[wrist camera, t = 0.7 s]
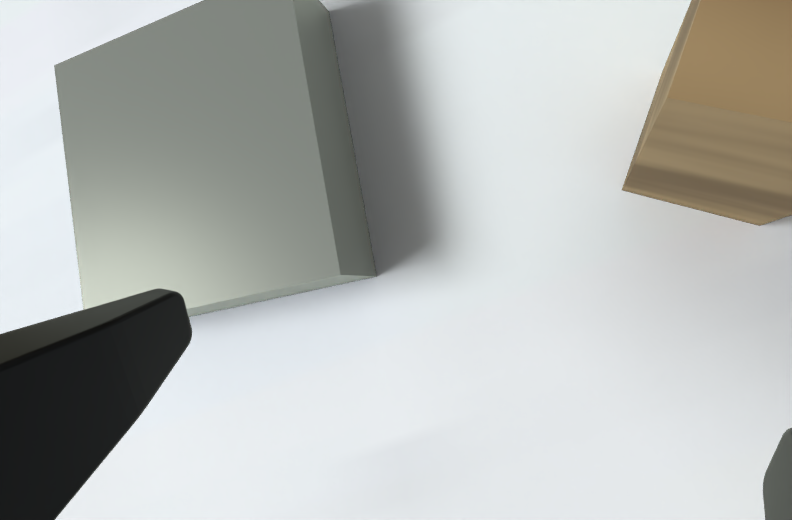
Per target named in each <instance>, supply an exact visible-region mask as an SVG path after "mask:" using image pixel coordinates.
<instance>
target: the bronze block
mask: <svg viewBox="0 0 792 520" xmlns="http://www.w3.org/2000/svg"><path fill="white" fill-rule="evenodd" d="M622 190H623V191H627V192H631V193H635V194H639V195H643V196H646V197H650V198H654V199H658V200H662V201H666V202H670V203H674V204H678V205H681V206H685V207H689V208H693V209H697V210H701V211H705V212H709V213H712V214H716V215H720V216H724V217H728V218H732V219H736V220H740V221H743V222H747V223H751V224H755V225H759V226H760V225H763V224H766V223H769V222H772V221H775V220H778V219H781V218H784V217H787V216H790V215H792V0H692V1H691V3H690V6H689V8H688V10H687V13H686V15H685V18H684V20H683V23H682V25H681V27H680V30H679V32H678V35H677V37H676V40H675V42H674V45H673V47H672V49H671V52H670V54H669V57H668V59H667V62H666V64H665V67H664V69H663V72H662V75H661V77H660V80H659V83H658V86H657V89H656V92H655V95H654V98H653V101H652V104H651V107H650V109H649V112H648V115H647V118H646V121H645V124H644V127H643V130H642V133H641V136H640V138H639V141H638V144H637V147H636V150H635V153H634V156H633V159H632V162H631V165H630V168H629V170H628V173H627V176H626V179H625V182H624V185H623V188H622Z"/></svg>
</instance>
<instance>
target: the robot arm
mask: <svg viewBox="0 0 792 520" xmlns="http://www.w3.org/2000/svg"><path fill="white" fill-rule="evenodd" d="M191 337H192V328H191V324H190V320H189V316H188V312H187V309H186V305H185V301H184V298H183V297H182V295H181V294H180V293H178V292H176V291H171V290H167V289H161V288H158V289H153V290H150V291H146V292H143V293H139V294H136V295H132V296H129V297H126V298H122V299H119V300H115V301H112V302H109V303H105V304H102V305H98V306H95V307H92V308H88V309H85V310H81V311H78V312H74V313H71V314H68V315H64V316H61V317H57V318H54V319H51V320H47V321H44V322H40V323H37V324H33V325H30V326H27V327H23V328H20V329H16V330H13V331H10V332H6V333H3V334H0V520H55V519H56V518H57V516H58V515H59V514H60V513H61V512H62V510H63V509H64V508H65V507H66V505H67V504H68V503H69V502H70V501H71V499H72V498H73V497H74V496H75V495H76V493H77V492H78V491H79V490H80V488H81V487H82V486H83V485H84V484H85V482H86V481H87V480H88V479H89V477H90V476H91V475H92V474H93V473H94V471H95V470H96V469H97V468H98V467H99V465H100V464H101V463H102V462H103V460H104V459H105V458H106V457H107V456H108V454H109V453H110V452H111V451H112V450H113V448H114V447H115V446H116V445H117V443H118V442H119V441H120V440H121V439H122V437H123V436H124V435H125V434H126V433H127V431H128V430H129V429H130V428H131V426H132V425H133V424H134V423H135V421H136V420H137V419H138V418H139V416H140V415H141V414H142V412H143V411H144V409H145V408H146V407H147V405H148V404H149V402H150V401H151V399H152V398H153V396H154V395H155V394H156V392H157V391H158V389H159V388H160V386H161V385H162V383H163V382H164V380H165V379H166V377H167V376H168V375H169V373H170V372H171V370H172V369H173V367H174V366H175V364H176V363H177V361H178V360H179V358H180V357H181V355H182V354H183V353H184V351H185V350H186V348H187V347H188V345H189V343H190V341H191ZM763 498H764V509H765V520H792V428H790V429H788V430H787V431H786V432H785V433H784V434H783V436H782V438H781V440H780V442H779V444H778V447H777V449H776V451H775V453H774V455H773V457H772V460H771V462H770V464H769V466H768V468H767V470H766V473H765V476H764V482H763Z"/></svg>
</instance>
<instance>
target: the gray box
mask: <svg viewBox="0 0 792 520" xmlns="http://www.w3.org/2000/svg"><path fill="white" fill-rule="evenodd" d="M54 67H55V76H56V84H57V92H58V101H59V109H60V117H61V126H62V134H63V142H64V151H65V159H66V167H67V176H68V184H69V192H70V201H71V209H72V217H73V226H74V234H75V242H76V251H77V259H78V267H79V276H80V284H81V292H82V301H83V309H84V310H85V309H88V308H92V307H95V306H98V305H102V304H105V303H109V302H112V301H115V300H119V299H122V298H126V297H129V296H132V295H136V294H139V293H143V292H146V291H150V290H153V289H158V288H161V289H167V290H171V291H176V292H178V293H180V294H181V295H182V297H183V298H184V301H185V305H186V309H187V312H188V316H189V317H191V316H196V315H200V314H205V313H210V312H214V311H219V310H224V309H228V308H233V307H238V306H242V305H247V304H252V303H256V302H261V301H266V300H270V299H275V298H279V297H284V296H289V295H293V294H298V293H303V292H307V291H312V290H317V289H321V288H326V287H331V286H335V285H340V284H345V283H349V282H354V281H358V280H363V279H368V278H372V277H377V275H376V269H375V264H374V258H373V253H372V247H371V242H370V236H369V231H368V225H367V220H366V214H365V208H364V203H363V197H362V192H361V186H360V181H359V175H358V170H357V164H356V159H355V153H354V148H353V142H352V137H351V131H350V126H349V120H348V115H347V109H346V104H345V98H344V93H343V87H342V82H341V76H340V71H339V65H338V60H337V54H336V49H335V43H334V38H333V32H332V27H331V21H330V16H329V11H328V10H327V9H326V8H325V6H324V5H323V4H322V3H321V2H320V1H319V0H203V1H201V2H199V3H196V4H194V5H192V6H190V7H187V8H185V9H183V10H180V11H178V12H176V13H174V14H171V15H169V16H167V17H164V18H162V19H160V20H158V21H155V22H153V23H151V24H148V25H146V26H144V27H141V28H139V29H137V30H135V31H132V32H130V33H128V34H125V35H123V36H121V37H119V38H116V39H114V40H112V41H109V42H107V43H105V44H102V45H100V46H98V47H96V48H93V49H91V50H89V51H86V52H84V53H82V54H80V55H77V56H75V57H73V58H70V59H68V60H66V61H63V62H61V63H59V64H57V65H54Z"/></svg>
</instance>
